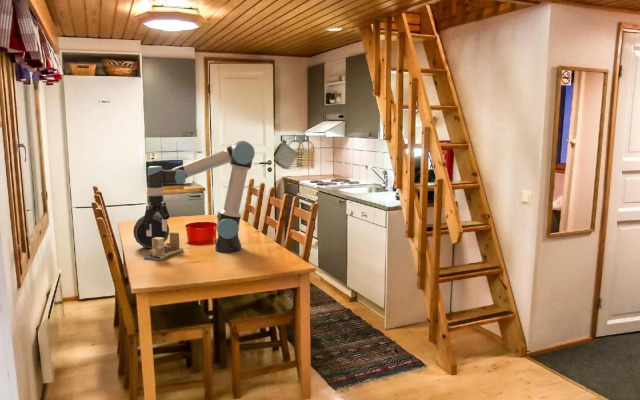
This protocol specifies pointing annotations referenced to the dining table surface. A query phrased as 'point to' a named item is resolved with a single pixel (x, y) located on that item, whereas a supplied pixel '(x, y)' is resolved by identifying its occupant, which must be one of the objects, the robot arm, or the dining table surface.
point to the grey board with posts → (169, 248)
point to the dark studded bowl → (156, 231)
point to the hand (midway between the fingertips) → (157, 233)
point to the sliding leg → (158, 247)
